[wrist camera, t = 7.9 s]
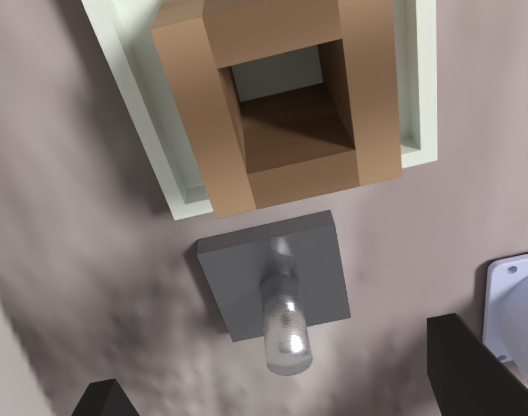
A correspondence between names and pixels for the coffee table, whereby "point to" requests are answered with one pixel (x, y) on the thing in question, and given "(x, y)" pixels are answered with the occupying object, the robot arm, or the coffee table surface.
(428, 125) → the tray
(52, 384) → the coffee table surface
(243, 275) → the grey base with peg
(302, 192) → the brown framed cube
